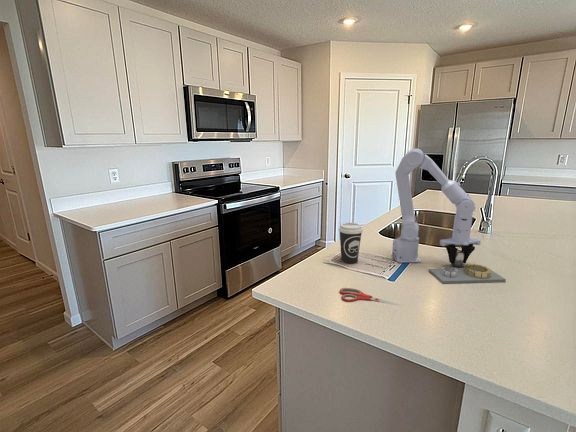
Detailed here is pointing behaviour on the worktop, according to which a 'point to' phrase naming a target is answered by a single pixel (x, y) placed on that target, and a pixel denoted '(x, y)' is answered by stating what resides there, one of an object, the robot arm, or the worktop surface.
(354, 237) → the coffee cup
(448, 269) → the narrow socket
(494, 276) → the fitting board
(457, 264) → the metal cylinder peg
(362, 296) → the scissors
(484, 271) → the wide socket
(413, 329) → the worktop surface
